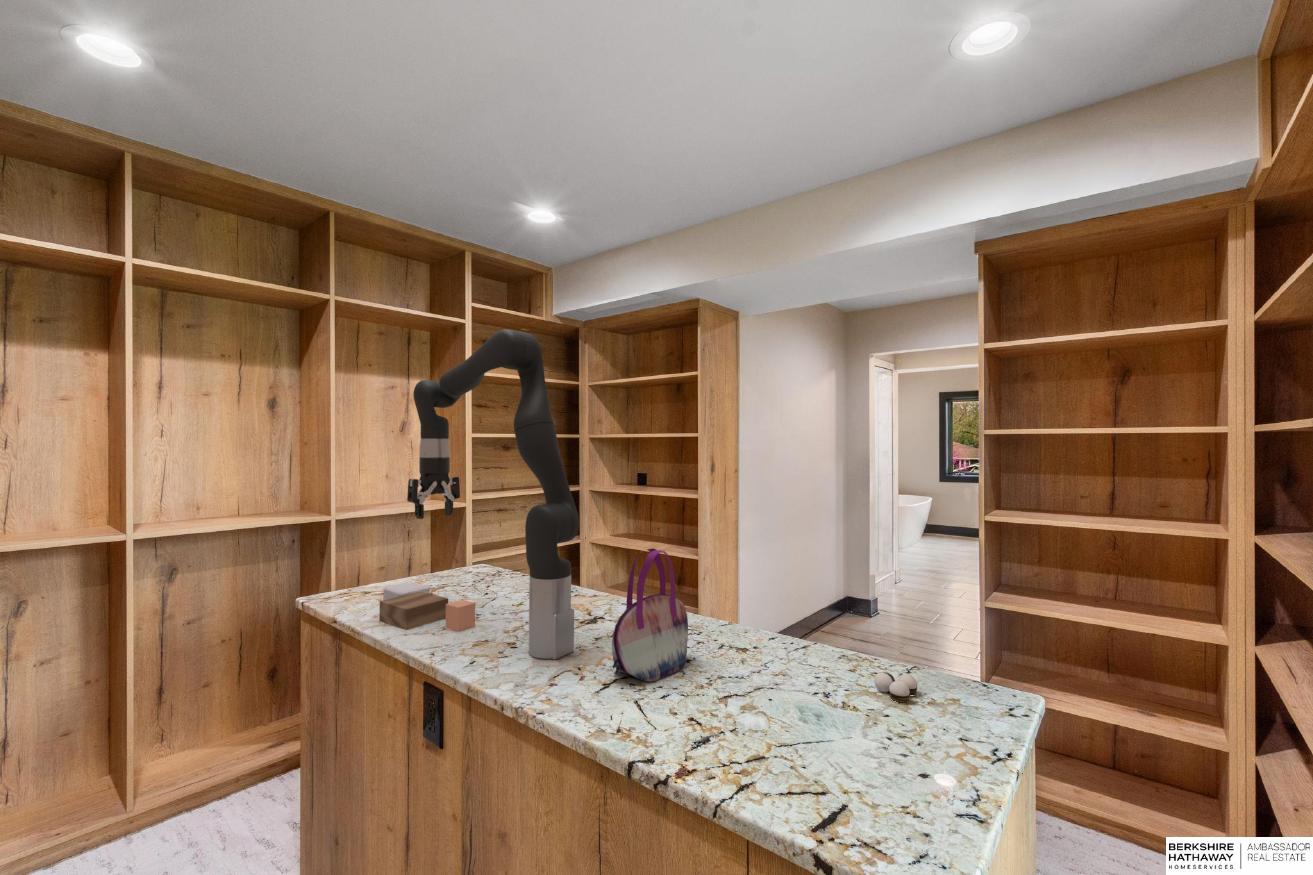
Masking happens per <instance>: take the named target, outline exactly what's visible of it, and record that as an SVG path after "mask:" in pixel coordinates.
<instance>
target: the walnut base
mask: <svg viewBox="0 0 1313 875" xmlns="http://www.w3.org/2000/svg"><path fill="white" fill-rule="evenodd" d="M446 604H449V598H447V597H443V596H442V595H441V596H439V595H437V594H432V593H430V592H429V593H425V592H422V591H421V592H417V593H412V594H408V595H404V596H400V597H396V598H392V599H388V600H384V601H383V600H380V601H379V615H378V616H379V621H380V622H382V623H386V624H389V625H391V626H394V627H397V628H400V629H404V630H406V631H407V630H410V629H413V628H417V627H421V626H424V625H427V624H431V623H433V622H437V621H441V620H444V619H446Z"/></svg>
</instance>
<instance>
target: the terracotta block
mask: <svg viewBox="0 0 1313 875" xmlns="http://www.w3.org/2000/svg"><path fill="white" fill-rule="evenodd" d="M474 627H476V602H473V601H470V600H469V601H468V600H465V599H460V600H456V601H453V602H448V604H446V618H445V629H448V630H452V631H453V632H457V633H458V632H459V633H460V632H462V631H465V630H469V629H472V628H474Z"/></svg>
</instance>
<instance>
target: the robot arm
mask: <svg viewBox="0 0 1313 875" xmlns="http://www.w3.org/2000/svg"><path fill="white" fill-rule="evenodd" d="M542 352H543V351H542V347H541V344H540V342H539V340H538V338H536V336H535V335H533V334H531V333H528V332H523V331H518V330H515V329H510V328H509V329H508V328H504V329H501V330H498V331H497V332H495V333H494V334H493V335H491V336H490V337H489V338H488V339H487V340H486V341H485V342H484V343H483V344H482V345H480V346H479V348H478V349H476V350H475V351H474V352H473V353H472V354H471V355H470V356H469V357H467V358H466V359H464V361H462V362H461V363H459V364H458V365H456V366H454V367H452V368H450V369H448V370H447V371H445V372H444V373H443V374H442V375H441V376H440V378H439V380H438V381H437V380H431V379H430V380H429V379H421V380H420V381H418V382H417V383H416V384H415V387H414V389H413V401H414V405H415V407H416V411H417V416H418V419H419V422H420V441H419V442H420V443H419V456H418V458H419V460H418V461H419V463H418V465H419V469H418V470H419V471H418V472H419V476H420V477H419V479H418V478H409V479H408V483H407V502H408V503H412V504H414V517H416V519H417V520H418V519H419V520H423V519H424V517H425V515H424V514H425V506H424V505H425V504H424V503H425V501H426V499H427V498H428V497H429V496H430V495H437V494H438V495H441V496H442V498H444V500H445V501H444V515H445V516H447V517H448V516H452V515H453V512H454V502H455V500H457V499H460V498H461V489H460V487H461V486H460V477H459V476H449V473H450V471H451V469H450V468H451V465H450V464H451V463H450V462H451V461H450V460H451V457H450V456H451V450H450V449H451V448H450V438H449V436H450V433H449V432H450V430H449V429H450V428H449V427H450V425H449V420H448V418H447V417H444V416H441V415H439V414H438V413H437V412H436V410H435V408H438V409H444V408H445V409H446V408H449V407H452V406H453V405H455V404H456V403H457V401H458V400H460V398H461V397H462V396H463V395H465V394H466V393H468V392H471V391H472V390H474V389H476V388H477V387H478V386H479V385H480V384H481V382H482V381H483V379H484V377H485V374H486V373H487V372H489V371H493V370H495V369H500V368H503V369H507V370H511V371H513V370H514V371H517V373H518V376H519V380H520V381H519V382H520V387H521V388H520V389H521V396H520V399H519V403H518V405H517V408H516V411H515V415H514V418H513V431H514V436H515V441H516V445H517V449H518V452H519V455H520V457H521V458H522V460H523V462H524V463H525V464H526V466H527V467H528V468H529V469H530V471H531V472H532V474H534V476H535V477H536V479H537V481H538V482H539V483H540V486H541V488H542V491H543V495H544V499H545V503H544V504H542V503H541V504H537V505H534V506H533V507H531V508H530V509H529V511H528V512H527V515H526V518H525V525H524V526H525V527H524V528H525V529H524V530H525V534H524V536H525V556H526V557H525V558H526V563H527V566H528V569H529V587H528V588H529V591H528V593H529V594H528V595H529V599H528V600H529V601H528V602H529V603H528V608H529V609H528V654H529V655H530V656H531V657H533V658H536V659H545V660H546V659H548V660H549V659H551V660H557V659H560V658H561V657H564V656H566V655H568V654H571V653H572V652H574V650H575V649H574V648H575V609H574V608H572V564H571V561H569V560H568V559H565V558H562V557H560V555H559V551H558V544H562V543H567V542H570V541H572V540H574V539H575V538H576V536H577V535H578V532H579V528H580V527H579V526H580V522H579V521H580V519H579V514H578V510H577V507H576V504H575V500H574V497H573V495H572V491H571V489H570V486H569V483H568V480H567V476H566V473H565V472H566V471H565V468H564V463H563V459H562V456H561V452H560V447H559V441H558V435H557V432H556V428H555V423H554V419H553V416H552V412H551V411H552V410H551V407H550V401H549V395H548V391H547V385H546V377H545V368H544V359H543V353H542ZM449 485H450V488H449ZM419 487H420V489H419ZM418 489H419V490H418Z"/></svg>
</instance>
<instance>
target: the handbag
mask: <svg viewBox="0 0 1313 875" xmlns="http://www.w3.org/2000/svg"><path fill="white" fill-rule="evenodd" d="M643 551H648V552H649V553H648V554H647V556H646V557H645V559H644V561H643V563H642V566H641V570H640V572H639V574H638V579H637V584H636V601H635V602H633V592H634V578H635V571H636V570H635V569H636V565H637V564H636V563H637V559H638V557H639V554H637V555H636V557H635V559H634V561H633V562H632V566H631V569H630V571H629V572H630V573H629V578H628V582H627V583H628V584H627V593H626V594H627V595H626V604H625V606H626V609H625V610H624V612H622V614H621V615H620V616H619V617H618V620H617V622H615V625H614V630H613V631H612V632H613V633H612V638H611V651H612V652H611V653H612V661H613V664H612V666H611V668H610V671H613V670H614V669H615V671H614V674H613V675H612V676H613V678H615V675H617V674H618V673H619V672H621V673H624V674H627V675H630V676H632V677H634V678H637V679H639V680H641V681H644V682H655V681H658V680H661V679H663V678H665V677H668V676H670V675H673V674H674V673H676V672H679V671H681V670H683V669H684V668H685V666H686V663H687V657H688V655H687V654H688V640H689V639H688V638H689V637H688V636H689V620H688V614H687V613H688V612H687V608H686V606H685V605H684V603H683V602H682V601H681V600H680V599H679V598H677V596H676V595H677V594H676V582H675V580H676V578H675V571H674V567H673V563H672V559H671V558H670V555H669V554H668V553H667V552H666V551H665V550H662V549H661V550H660V549H656V548H654V547H653V548H646V549H643V550H640V553H642V552H643ZM660 553H663V554H664V555H665V557H666V558H667V563H668V569H669V570H668V571H669V583H670V587H669V588H670V593H669V594H666V587H667V586H666V585H667V583H666V582H667V578H666V577H667V576H666V575H667V574H666V568H665V565H664V562H663V559H662V556H661V554H660ZM653 561H654V563H655V565H656V569H657V571H658V579H659V593H657V594H651V595H648V596H644V593H645V592H644V589H645V584H646V578H647V577H648V573H649V572H650V570H651V568H652V565H653ZM612 668H613V669H612Z"/></svg>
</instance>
